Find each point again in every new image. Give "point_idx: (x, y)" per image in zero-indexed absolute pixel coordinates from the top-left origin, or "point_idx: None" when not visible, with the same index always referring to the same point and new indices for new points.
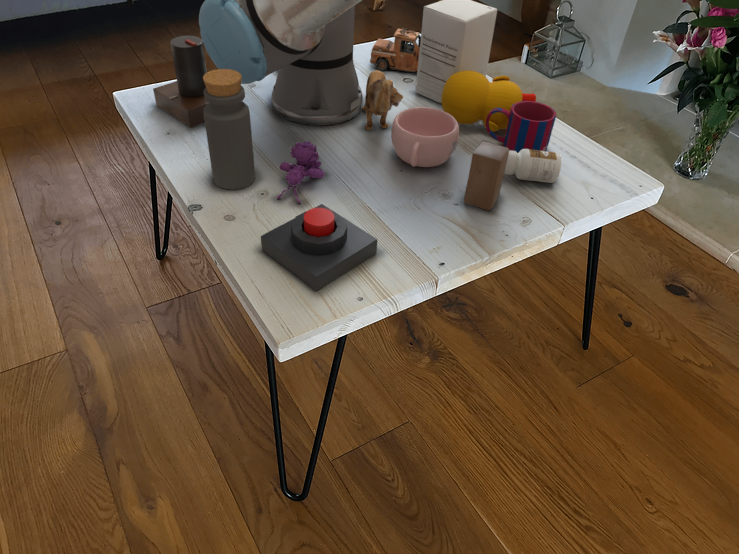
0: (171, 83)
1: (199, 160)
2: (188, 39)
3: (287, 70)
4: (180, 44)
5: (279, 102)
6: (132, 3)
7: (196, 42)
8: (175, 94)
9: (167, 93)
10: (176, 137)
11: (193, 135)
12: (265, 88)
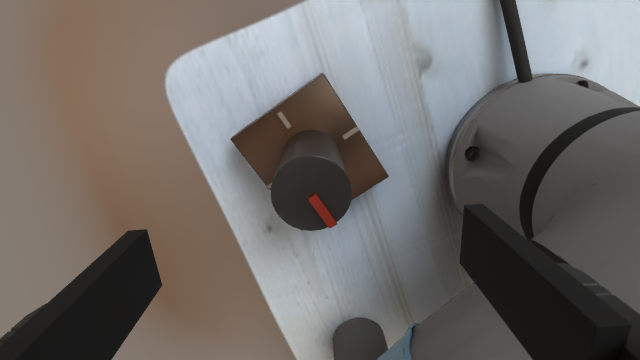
0: (265, 119)
1: (316, 298)
2: (317, 197)
3: (512, 224)
4: (297, 212)
5: (461, 203)
6: (157, 290)
7: (336, 202)
8: (276, 169)
9: (261, 164)
10: (281, 239)
11: (307, 236)
12: (448, 77)
